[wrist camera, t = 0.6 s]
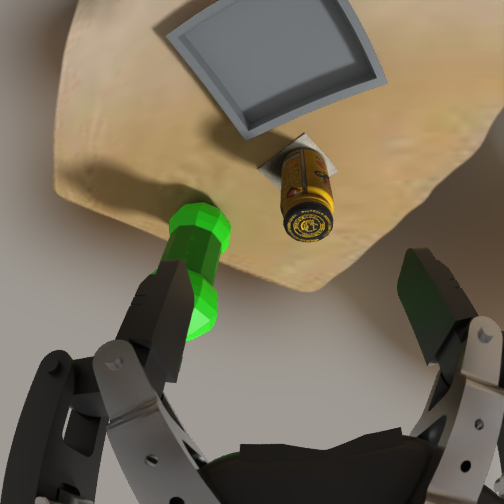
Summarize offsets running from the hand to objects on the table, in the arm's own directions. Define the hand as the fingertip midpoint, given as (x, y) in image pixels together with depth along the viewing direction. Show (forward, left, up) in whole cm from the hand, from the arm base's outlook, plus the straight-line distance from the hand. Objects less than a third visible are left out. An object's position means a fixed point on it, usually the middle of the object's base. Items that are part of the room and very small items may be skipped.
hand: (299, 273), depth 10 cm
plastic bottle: (+13, -22, -27) cm, 37 cm away
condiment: (+12, -5, -27) cm, 30 cm away
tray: (-4, +1, -27) cm, 28 cm away
